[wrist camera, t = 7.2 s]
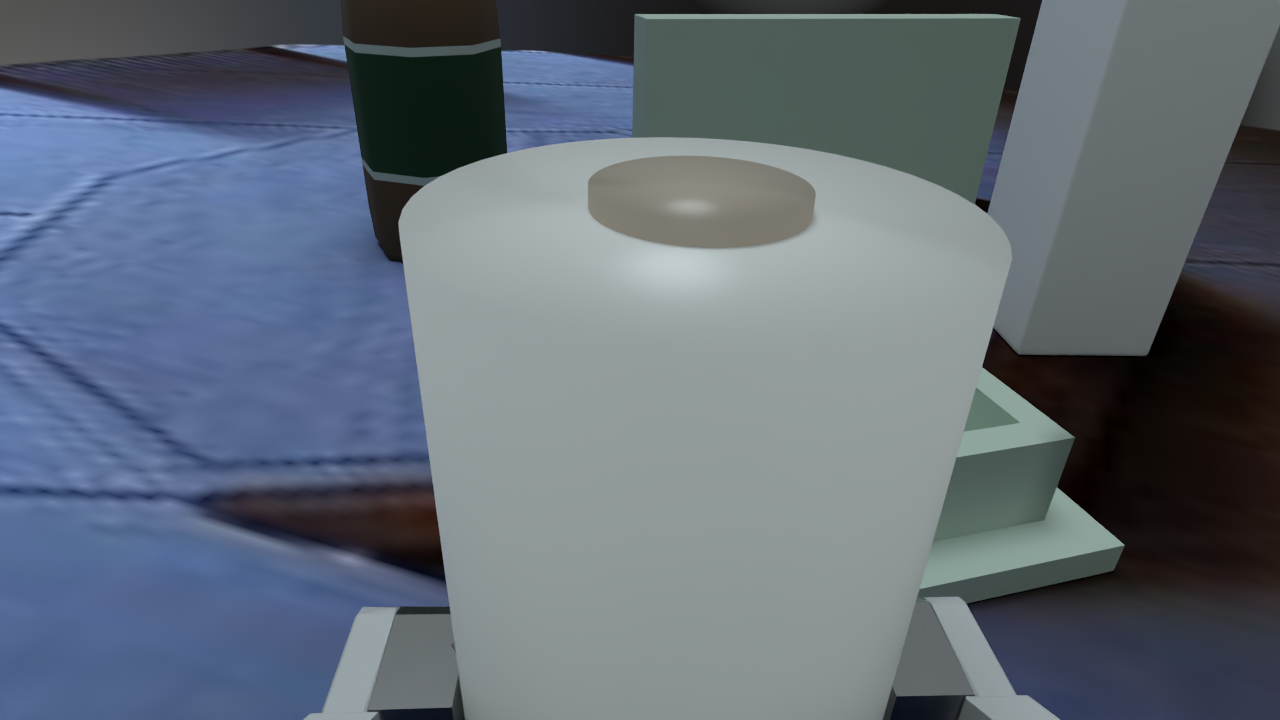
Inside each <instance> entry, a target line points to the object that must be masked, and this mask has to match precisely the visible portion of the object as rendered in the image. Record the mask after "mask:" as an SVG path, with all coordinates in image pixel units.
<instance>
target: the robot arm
mask: <svg viewBox="0 0 1280 720" xmlns="http://www.w3.org/2000/svg"><path fill="white" fill-rule="evenodd" d="M303 720H465V717H464V709H463V702H462V695H461V687H460V680H459V672H458V665H457V658H456V650H455V643H454V635H453V628H452V621H451V613H450V607H362V609H361V610H360V611H359V613H358V614H357V615H356V617H355V619H354V622H353V625H352V628H351V631H350V633H349V636H348V639H347V642H346V645H345V648H344V651H343V653H342V656H341V659H340V662H339V665H338V668H337V670H336V673H335V676H334V679H333V682H332V685H331V688H330V690H329V693H328V696H327V699H326V702H325V705H324V707H323V710H322V713H311V714H309V715H308V716H307V717H306V718H305V719H303ZM883 720H1060V719H1059V718H1057V717H1056V716H1055V715H1053V714H1052V713H1051V712H1049V711H1048V710H1047V709H1045V708H1044V707H1043V706H1041V705H1040V704H1039V703H1037V702H1036V701H1035V700H1033V699H1032V698H1031V697H1029V696H1028V695H1017V694H1016V693H1015V691H1014V689H1013V687H1012V685H1011V684H1010V682H1009V680H1008V678H1007V676H1006V675H1005V673H1004V671H1003V669H1002V667H1001V666H1000V664H999V662H998V660H997V658H996V657H995V655H994V653H993V651H992V649H991V648H990V646H989V644H988V642H987V640H986V639H985V637H984V635H983V633H982V631H981V630H980V628H979V626H978V624H977V622H976V621H975V619H974V617H973V615H972V613H971V611H970V610H969V608H968V606H967V604H966V602H964V601H963V600H962V599H961V598H960V597H924V598H920V597H917V600H916V603H915V607H914V610H913V614H912V617H911V621H910V625H909V628H908V632H907V635H906V639H905V642H904V646H903V649H902V653H901V657H900V660H899V664H898V667H897V671H896V674H895V678H894V682H893V685H892V689H891V692H890V696H889V699H888V703H887V706H886V710H885V714H884V717H883Z"/></svg>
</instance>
